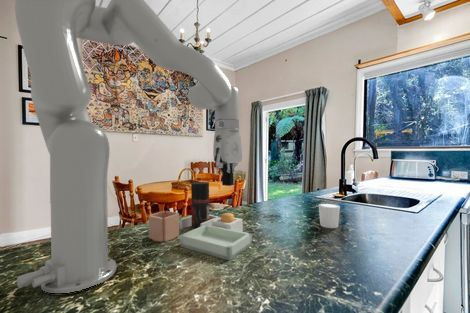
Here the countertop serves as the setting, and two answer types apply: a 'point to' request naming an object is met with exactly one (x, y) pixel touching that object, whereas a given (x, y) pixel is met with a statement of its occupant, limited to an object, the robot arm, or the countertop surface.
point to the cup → (163, 226)
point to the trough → (216, 241)
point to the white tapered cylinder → (329, 215)
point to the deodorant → (199, 203)
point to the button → (227, 217)
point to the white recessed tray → (215, 223)
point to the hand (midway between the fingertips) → (227, 185)
